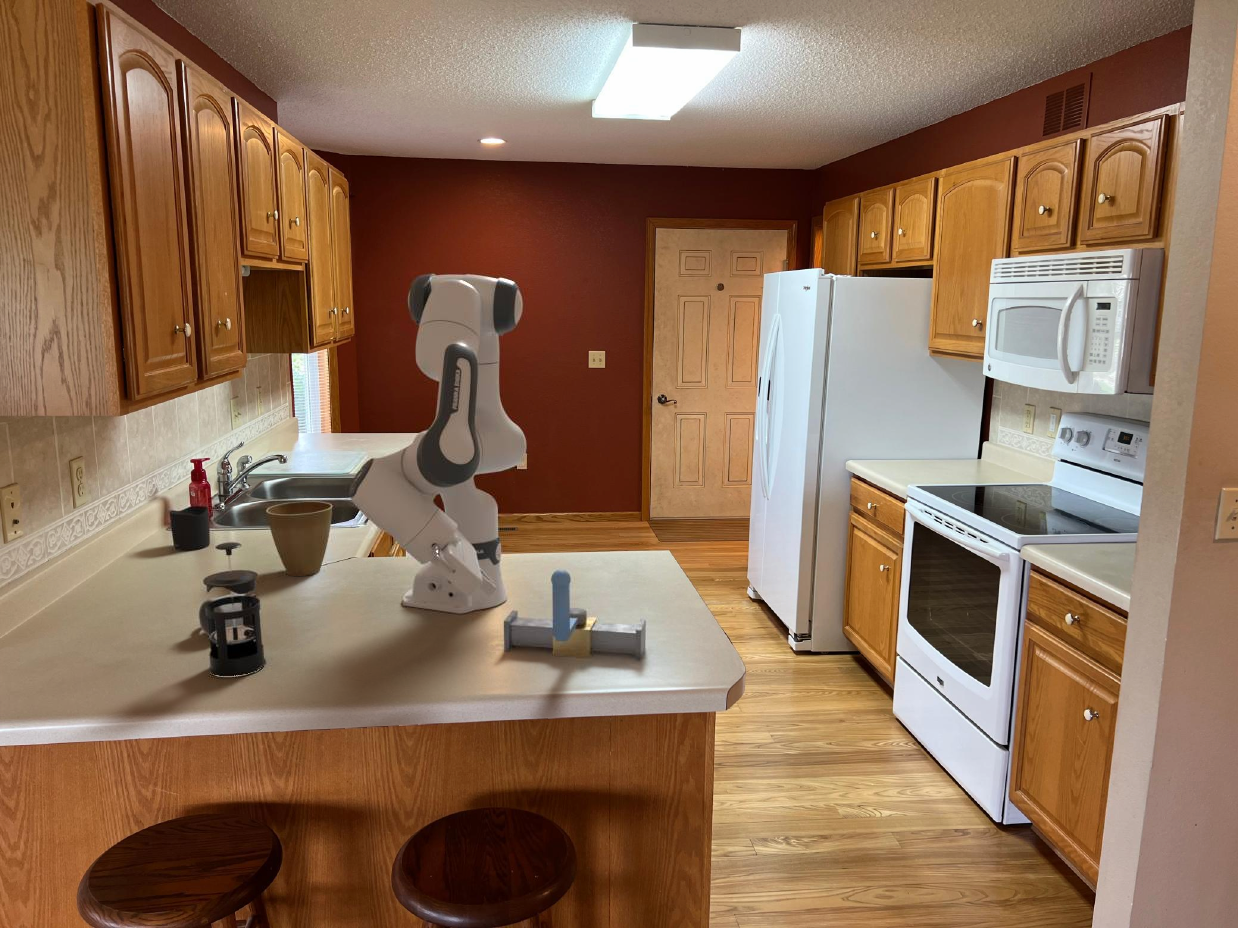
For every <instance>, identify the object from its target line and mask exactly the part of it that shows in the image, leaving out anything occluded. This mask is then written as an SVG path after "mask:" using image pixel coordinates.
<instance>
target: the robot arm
mask: <svg viewBox="0 0 1238 928" xmlns="http://www.w3.org/2000/svg"><path fill="white" fill-rule="evenodd" d="M407 296H408V297H407V303H408V309H409V310H408V311H409V314H410V317H411V319H412V320H413V322H415V324H416V325H418V326H419V327H418V330H417V335H416V340H415V361H416V362H415V363H416V365H417V366H418V368H419V370H421V372H422V373H423V374H424V375H426V377H428V378H430V379H431V380H434V381H435V382H439V384H438V393H437V403H436V404H437V405H436V412H435V419H434V420H433V422H432V424H431V426H430V427H429V428H428V429H426V430H423V431H420V432H419V433H418V434H416V436H415V437H414V439H413V441H412V443H411V444H410V445H408V446H406V447H403V448H402V449H400V450H398V451H396V452H394V453H391V454H388V455H385V456H381V457H377V458H376V457H372V458H369V459H368V460H367V461H365V463H364V464H363V465H362V466H361V467H360V469H359V470H358V471H357V473H356V474H355V475H354V477H353V480H352V481H351V483H350V486H349V490H348V491H349V498H350V499H351V501H352V503H353V504H354V505H355V507H356V508H357V509H358V510H359V511H360V512H361V513H362V514H363V515H364V516H365V517H366V518H367V519H368V520H369V521H370V522H371V523H372V524H374V525H375V526H376V527H377V528H378V529H379V530H381V531H383V532H385V533H386V534H388V535H390V536H392V538H394V540H395V542H396V543H397V544H398V546H399V547H401V549H403V550H404V551H405V552H407V554H409V555H410V556H412V558H413V559H415V560H416V561H417V562H418V563H419V564H421V565H423V566H422V567H420V568H419V569H418V570H417V572H416V574H415V575H414V578H413V584H412V587H411V588H410V589H409V590H407V591H406V592H405V593H404V594H403V597H402V604H403V606H405V607H406V606H407V607H411V608H412V607H413V608H420V609H427V610H434V611H440V612H447V613H453V614H466V613H470V612H473V611H476V610H477V611H478V610H483V609H489V608H493V607H496V606H499V605H501V604H503V603H504V602H505V601H506V600H507V599H508V595H507V592H506V589H505V586H504V582H503V577H502V572H501V571H502V569H501V564H500V563H501V561H502V560H501V557H502V544H501V536H500V535H499V519H498V518H499V515H498V514H499V513H498V504H497V501H496V499H495V498H494V497H493V496H492V495H490V494H489V493H487V492H485V491H483V490H481V489H479V488H477V487H476V485H475V480H474V477H475V476H476V475H480V474H481V475H482V474H489V473H496V472H502V471H505V470H509V469H511V468H514V467H515V466H519V465H520V464H521V463H522V462H523V460H524V458H525V456H526V454H527V453H526V452H527V439H526V436H525V434H524V431H523V430H522V429H521V427H520V426H518V424H516V423H514V422H513V421H512V420H511V419H510V417H509V416H508V414H507V413H506V411H505V410H504V409H505V408H504V407H503V405H502V404H503V403H502V402H501V396H500V395H501V394H500V340H499V337H503V336H504V335H505V333H509V332H511V331H512V330H514V329H515V328H516V327H517V326H518V323H519V321H520V319H521V317H522V314H523V308H524V306H523V305H524V303H523V297H522V294H521V291H520V287H519V286H518V285H517V284H516V282H515V281H512V280H510V279H507V278H503V277H499V278H494V277H491V276H484V275H478V274H468V273H467V274H439V275H437V274H435V273H428V274H427V273H426V274H422V275H419V276H417V278H415V279H414V280H413V281H412V283H411V285H410V289H409V292H408V295H407ZM437 495H440V497H441V499H442V503H443V507H444V511H443V510H442V509H441V508H439V506H437V504H435V502H434V499H435V498H436V496H437Z"/></svg>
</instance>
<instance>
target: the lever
mask: <svg viewBox="0 0 1238 928" xmlns="http://www.w3.org/2000/svg"><path fill="white" fill-rule="evenodd" d="M571 579H572V578H571V575H570V573H569V572H568V571H566V570H565V569H557V570H555V571H554V572H553V573H552V574H551V578H550V581H551V585H552V586H551V590H552V620H553V636H554V637H556V641H563V642H567V641H568V639H569V638H570V636H571V634H572V633H573V631H574V629H575V628H576V626H577V625H581V624H584V623H586V622H587V617H588V615H587V610H586V608H585V609H584V608H581V607H571V606H570V605H571V604H570V603H571V602H570V601H571V600H570V599H571V598H570V597H571V594H570V589H571V588H570V586H571V585H570V584H571V581H572V580H571Z"/></svg>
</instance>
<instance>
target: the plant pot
mask: <svg viewBox="0 0 1238 928" xmlns="http://www.w3.org/2000/svg"><path fill="white" fill-rule="evenodd" d="M265 512H266V516H267V520H268V525H269V528H270V529H269V530H270V533H271V536H272V539H273V543H274V546H275V548H276V551H277V553H278V556H279V558H280V560H281V562H282V564H283V567H284V569H285V571H286V574H288V575H289V576H293V577H306V576H312V575H315V574H317V573H319V572H320V571H321V568H322V565H323V561H324V559H325V555H326V551H327V546H328V543H329V538H330V531H331V525H332V524H331V523H332V516H333V515H332V514H333V505H332V504H331V502H325V501H316V500H315V501H314V500H311V501H310V500H309V501H304V500H303V501H292V502H285V503H280V504H275V505H272V506H270V507H268V508H267V509H266V510H265Z"/></svg>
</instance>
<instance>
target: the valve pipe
mask: <svg viewBox="0 0 1238 928" xmlns="http://www.w3.org/2000/svg"><path fill="white" fill-rule="evenodd" d="M518 614H519V611H518V610H514V609H513V610H512V611H510V613H509V614H508V616H506V617H505V619H504V620H503V649H504V651H503V652H505V653H506V652H507V653H509V652H511V650H512V649H513V648H514V646H521V647H524V646H525V647H535V648H536V647H539V648H550V649H551V648H552V656H555V657H567V658H568V657H569V658H571V657H572V658H583V659H591V657H592V654H594V652H605V653H606V652H608V653H609V652H610V653H622V654H635V660H634V661H635V662H641V661H642V659H643V656H644V653H645V651H646V639H647V638H646V637H647V635H646V633H647V632H646V625H647V623H646V622H647V621H646V618H641V617H640V619H639V621H638V623H637V624H624V623H609V622H597V617H591V616H589V617H588V616H587V622H586V623H584V624H581V625H577V626H576V628H575V629H574V631H573V633H572V634H571V636H570V638H569V639H568V641H567V642H563V641H556V637H554V636H553V619H545V618H532V617H519V615H518Z"/></svg>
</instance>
